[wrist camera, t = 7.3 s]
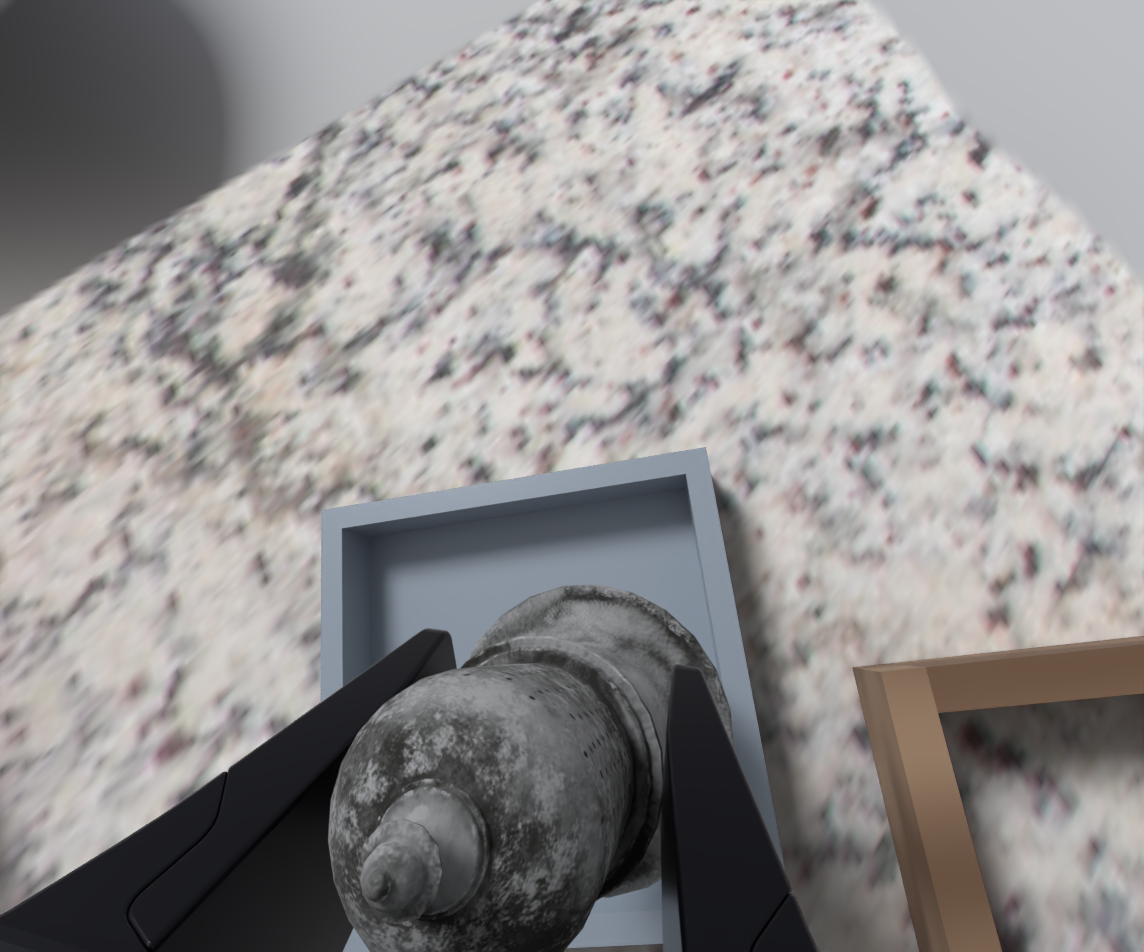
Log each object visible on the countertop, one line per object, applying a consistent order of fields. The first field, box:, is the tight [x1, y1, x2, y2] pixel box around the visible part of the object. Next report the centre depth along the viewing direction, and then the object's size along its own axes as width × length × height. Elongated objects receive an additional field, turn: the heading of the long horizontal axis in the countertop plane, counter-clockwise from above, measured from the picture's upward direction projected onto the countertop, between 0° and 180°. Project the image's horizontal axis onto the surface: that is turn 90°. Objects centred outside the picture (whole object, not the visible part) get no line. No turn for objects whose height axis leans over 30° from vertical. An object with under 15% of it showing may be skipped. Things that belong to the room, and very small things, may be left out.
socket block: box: [853, 636, 1144, 952], centre depth 16 cm, size 11×11×3 cm
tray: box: [321, 447, 786, 952], centre depth 20 cm, size 14×14×2 cm
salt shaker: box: [328, 584, 734, 952], centre depth 10 cm, size 6×6×12 cm
